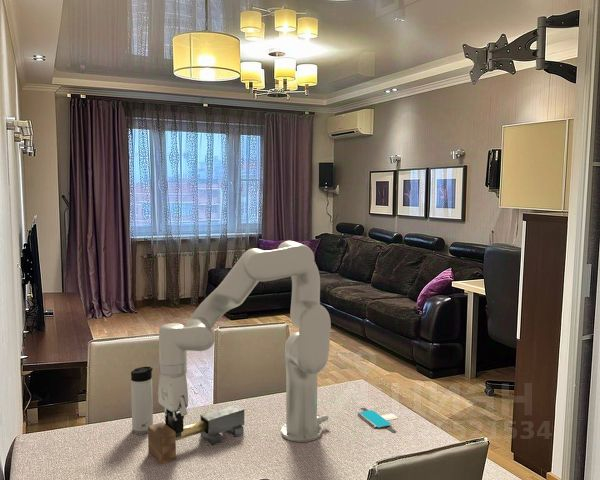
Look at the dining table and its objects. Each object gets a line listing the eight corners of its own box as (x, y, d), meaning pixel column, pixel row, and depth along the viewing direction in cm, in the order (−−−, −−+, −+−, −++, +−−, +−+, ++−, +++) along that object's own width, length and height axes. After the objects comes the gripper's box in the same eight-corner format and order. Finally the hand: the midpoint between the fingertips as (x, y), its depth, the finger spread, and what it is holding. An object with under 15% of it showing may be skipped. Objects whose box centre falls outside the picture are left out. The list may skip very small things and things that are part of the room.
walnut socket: (163, 448, 155) (162, 422, 154) (175, 459, 149) (175, 431, 148) (148, 453, 152) (147, 426, 152) (160, 464, 146) (160, 436, 146)
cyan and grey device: (412, 430, 169) (412, 425, 169) (380, 437, 164) (380, 431, 164) (379, 406, 187) (379, 402, 187) (349, 412, 183) (349, 407, 183)
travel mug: (148, 435, 163) (146, 372, 161) (128, 433, 165) (126, 370, 163) (157, 426, 169) (156, 365, 167) (138, 424, 171) (137, 363, 169)
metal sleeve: (233, 426, 170) (233, 403, 170) (246, 433, 165) (246, 410, 164) (199, 437, 162) (198, 413, 162) (210, 446, 157) (210, 421, 156)
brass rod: (210, 426, 162) (209, 401, 162) (216, 430, 160) (216, 405, 159) (154, 443, 151) (154, 418, 150) (160, 448, 148) (159, 422, 147)
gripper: (148, 363, 155) (149, 423, 157) (174, 378, 142) (175, 444, 144) (172, 357, 160) (173, 416, 161) (199, 372, 147) (200, 436, 149)
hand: (174, 429), depth 153 cm, fingers closed on brass rod, 3 cm apart
